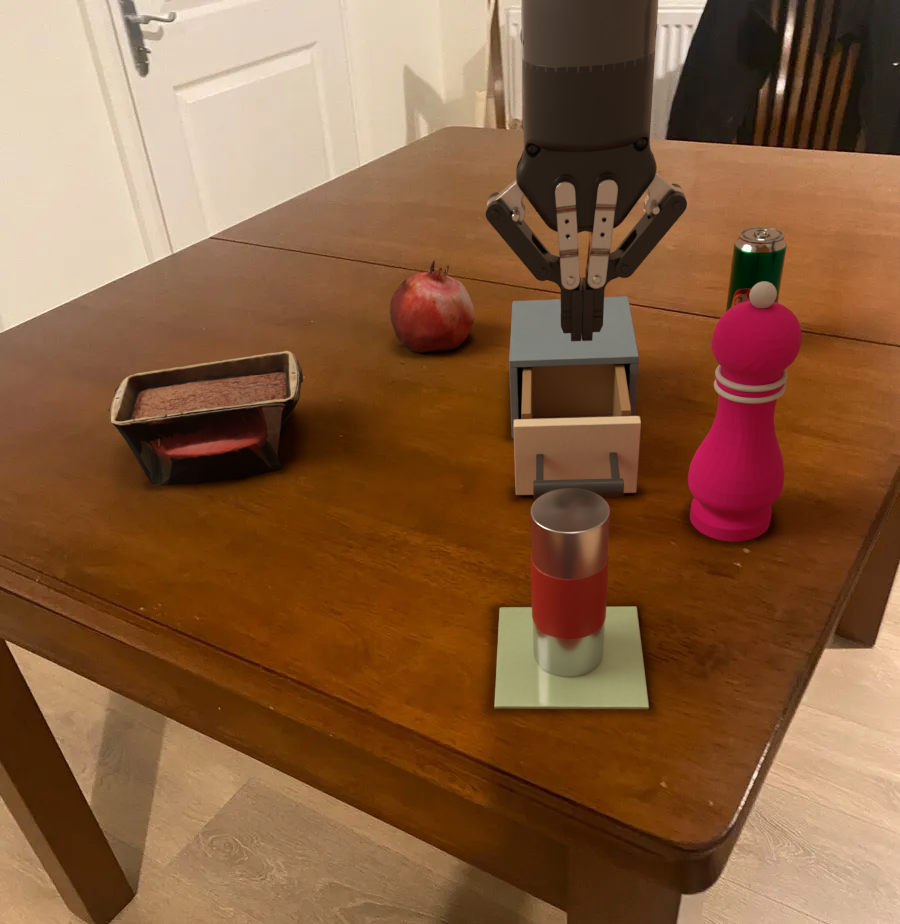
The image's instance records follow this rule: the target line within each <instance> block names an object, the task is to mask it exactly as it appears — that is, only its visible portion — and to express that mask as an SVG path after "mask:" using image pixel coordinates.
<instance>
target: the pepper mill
mask: <svg viewBox="0 0 900 924" xmlns="http://www.w3.org/2000/svg"><path fill="white" fill-rule="evenodd" d="M776 296H777V291H776V288H775V286H774V285H773V284H772V283H769V282H765V281H762V282H759V283H757V284H756V285H754V286H753V287H752V289H751V291H750V294H749V298H750V301H746V302H743V303H740V304H738V305H735V306H734V307H732V308H730V309H729V310H728V311H726V310H725V312H724V313H723V314H722V315H721V317H720V318H719V320H717V323H716V324H715V327H714V330H713V332H712V337H711V352H712V355H713V358H714V359H715V361H716V362H717V363H718V365H717V367H716V368H715V370H714V373H715V374H714V376H715V379H714V381H713V388H714V390H715V392H716V393H717V394H718V402H717V408H716V413H715V417H714V420H713V423H712V425H711V428H710V430H709V431H708V433H707V434H706V436H705V437H704V439H703V440H702V442H701V444H699V447H698V448H697V449H696V451H695V453H694V456H693V457H692V459H691V462H690V464H689V470H688V474H687V485H688V488H689V491H690V493H691V495H692V496H693V498H692V500H691V502H690V511H689V520H690V523H691V524H692V526H693V528H695V529H696V530H697V531H699V533H700V534H703V535H705V536H707V537H709V538H712V539H715V540H717V541H723V542H724V541H725V542H745V541H750V540H754V539H756V538H758V537H760V536H762V535H764V534H765V533H766V532H767V531H768V530H769V527H770V524H771V518H772V514H773V513H772V512H773V509H772V505H773V504H774V503H776V501H778V499H779V498H780V496H781V494H782V492H783V489H784V483H785V474H786V473H785V465H784V464H785V463H784V458H783V454H782V451H781V449H780V448H781V447H780V444H779V442H778V438H777V434H776V428H775V427H776V426H775V412H776V405H777V402H778V399H779V398H780V397H782V396H783V395H784V393H785V391H786V387H787V385H786V382H787V381H788V376H789V374H788V371H787V368H788V367H790V366H791V365H792V364H793V363H794V362H795V360H796V359H797V357H798V355H799V353H800V351H801V346H802V341H803V339H802V338H803V337H802V327H801V323H800V321H799V319H798V317H797V316H796V314H795V313H794V312H793V311H792V310H791V309H789V308H788V307H787V306H785V305H783V304H782V303H780V302H778V303H776V302H774V301H775V299H776Z"/></svg>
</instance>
